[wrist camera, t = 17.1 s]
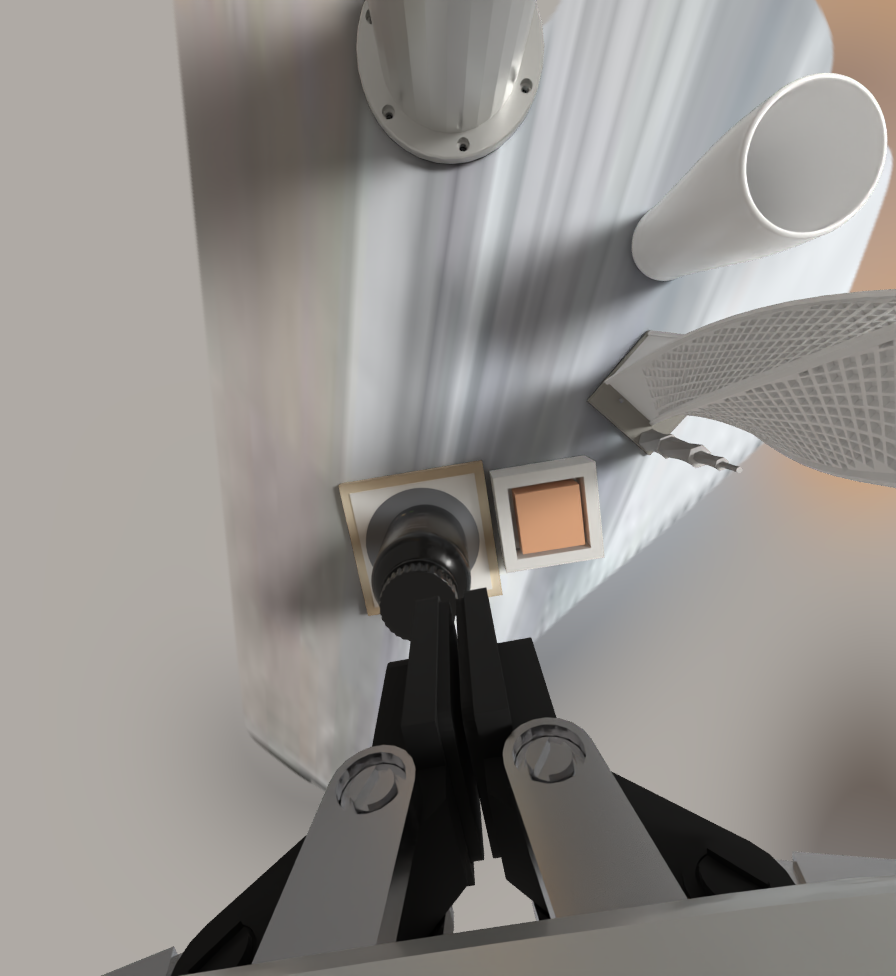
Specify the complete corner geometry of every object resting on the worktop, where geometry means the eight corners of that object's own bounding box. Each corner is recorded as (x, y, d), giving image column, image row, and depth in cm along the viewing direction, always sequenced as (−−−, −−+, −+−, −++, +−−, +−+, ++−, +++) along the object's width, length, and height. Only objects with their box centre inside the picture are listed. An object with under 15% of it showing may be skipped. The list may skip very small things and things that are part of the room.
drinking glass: (645, 310, 37) (777, 270, 22) (602, 231, 36) (713, 133, 21) (724, 258, 36) (913, 181, 22) (683, 174, 35) (856, 31, 20)
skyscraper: (573, 389, 38) (889, 432, 11) (644, 306, 37) (1205, 124, 10) (647, 454, 40) (1091, 635, 12) (719, 377, 38) (1396, 390, 11)
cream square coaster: (340, 483, 40) (337, 486, 39) (481, 460, 40) (482, 462, 39) (369, 611, 43) (367, 617, 42) (501, 590, 42) (502, 596, 41)
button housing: (489, 470, 40) (492, 478, 37) (584, 455, 40) (595, 461, 37) (502, 558, 42) (506, 572, 39) (593, 544, 42) (604, 557, 39)
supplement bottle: (480, 554, 40) (495, 628, 29) (411, 591, 41) (398, 677, 30) (440, 486, 39) (439, 535, 27) (369, 525, 40) (339, 589, 28)
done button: (511, 488, 39) (515, 494, 37) (572, 478, 39) (579, 484, 37) (519, 545, 40) (523, 554, 38) (578, 536, 40) (585, 544, 38)
